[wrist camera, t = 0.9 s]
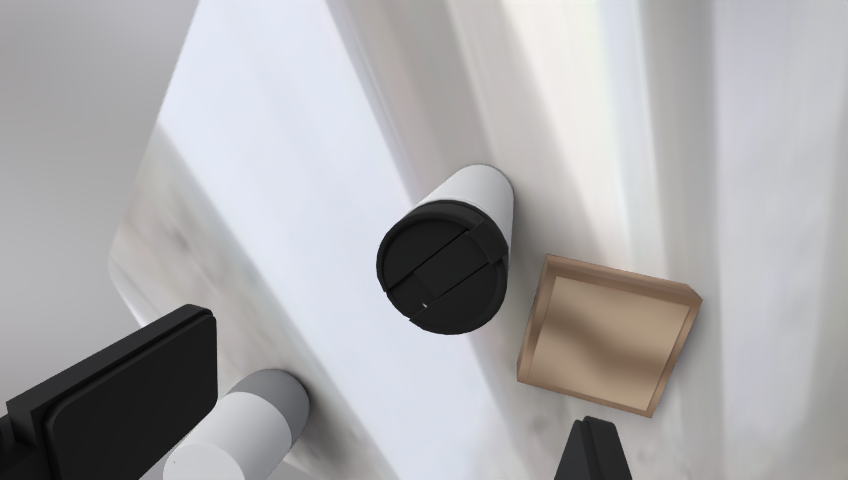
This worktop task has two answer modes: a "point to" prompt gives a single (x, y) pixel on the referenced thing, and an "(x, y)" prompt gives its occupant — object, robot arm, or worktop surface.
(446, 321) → the travel mug
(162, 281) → the worktop surface
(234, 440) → the smart speaker
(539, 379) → the plinth
